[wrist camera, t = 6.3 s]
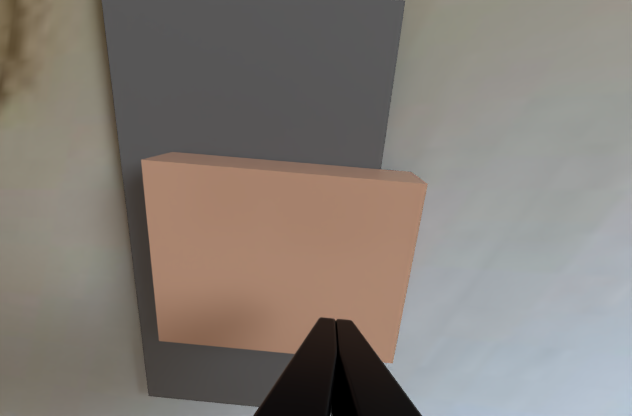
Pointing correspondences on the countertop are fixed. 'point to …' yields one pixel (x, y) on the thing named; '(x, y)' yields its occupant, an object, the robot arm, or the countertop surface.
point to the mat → (241, 127)
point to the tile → (278, 249)
